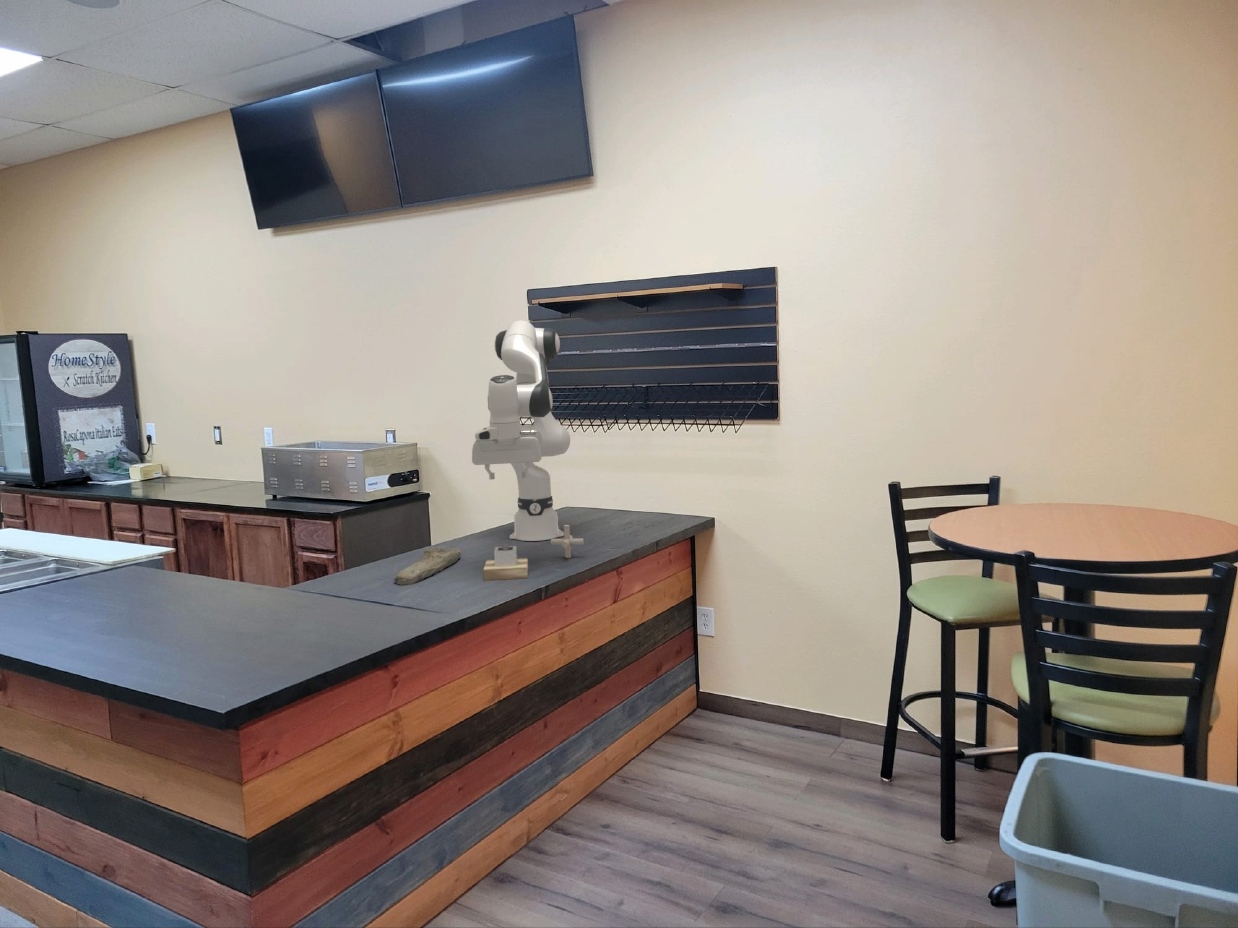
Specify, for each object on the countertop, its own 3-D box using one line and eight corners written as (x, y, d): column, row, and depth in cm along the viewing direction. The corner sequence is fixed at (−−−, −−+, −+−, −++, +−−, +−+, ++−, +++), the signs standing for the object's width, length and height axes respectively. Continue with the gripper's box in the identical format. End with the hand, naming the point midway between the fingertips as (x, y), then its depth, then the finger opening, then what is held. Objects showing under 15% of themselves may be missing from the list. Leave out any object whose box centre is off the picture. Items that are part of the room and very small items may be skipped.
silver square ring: (496, 561, 248) (495, 546, 248) (517, 560, 249) (516, 545, 248) (495, 566, 242) (494, 551, 242) (516, 565, 243) (515, 550, 242)
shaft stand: (487, 570, 251) (485, 541, 250) (528, 567, 252) (526, 539, 251) (484, 580, 239) (482, 550, 238) (527, 577, 240) (525, 548, 239)
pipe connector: (586, 553, 268) (584, 522, 267) (581, 560, 259) (580, 528, 257) (554, 553, 269) (553, 522, 268) (549, 561, 260) (547, 529, 258)
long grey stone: (385, 590, 239) (417, 593, 237) (384, 572, 238) (416, 574, 236) (439, 554, 272) (468, 557, 270) (439, 538, 271) (468, 541, 269)
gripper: (541, 428, 253) (543, 474, 255) (471, 432, 251) (474, 478, 253) (541, 431, 246) (543, 478, 249) (469, 434, 245) (472, 482, 247)
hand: (508, 478), depth 251 cm, fingers open, 8 cm apart
